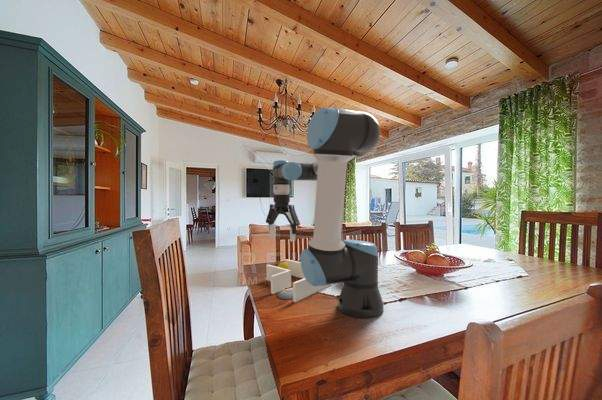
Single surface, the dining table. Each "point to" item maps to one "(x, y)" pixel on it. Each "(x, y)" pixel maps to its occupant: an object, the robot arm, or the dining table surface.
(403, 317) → the dining table surface
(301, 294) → the bent lane
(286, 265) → the lemon
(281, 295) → the pad
